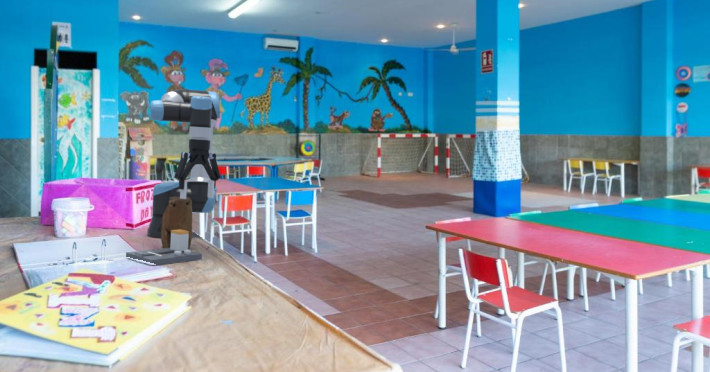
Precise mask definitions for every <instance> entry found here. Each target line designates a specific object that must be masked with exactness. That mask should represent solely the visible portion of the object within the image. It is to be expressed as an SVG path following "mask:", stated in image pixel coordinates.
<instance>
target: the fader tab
mask: <svg viewBox="0 0 710 372" xmlns="http://www.w3.org/2000/svg"><path fill="white" fill-rule="evenodd" d="M188 238H189V231H186V230H181V229H179V230H171V245H170V249H171V250H175V251H184V250H189V248H188Z"/></svg>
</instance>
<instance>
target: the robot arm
mask: <svg viewBox="0 0 710 372" xmlns="http://www.w3.org/2000/svg"><path fill="white" fill-rule="evenodd" d="M149 111H150V112H149V113H150V119H151V120H152V121H157V122H158V121H159V122H161V121H162V122H175V123H189V133H188V134H189V140H188V152H185V151H183V152H181V153H180V160H179V163H178V165H177V168H176V171H175V172H174V175H173V177H174V179H176V180H177V181H173V182H172V181H169V182H168V181H167V182H161V183H156V184H155V185H154V186H153V190H152V191H153V192H152V213H151V219H150V223H149V225H148V228H147V230H146V231H147V236H148V237H149V238H150V237H151V238H159V239H161V230H162V217H163V214H164V212H165V210H166V208H167V206H168V204H169V198H170V197H177V196H178V197H180V198H181V199H186V197H188V198H190V199H191V200H192V213H201V214H203V213H213V210H214V208H215V202H216V196H217V190H218V187H217V186H216V183H217V182H216V181H218V180H219V179H220V180H221V178H222V177H221V173H220V169H219V165H218V163H217V154H216V153H214V152H213V136H214V135H213V133H214V125H215V124H217V122H218V119H220V118H221V108H220V97H219V94H218V93H217V92H215V91H209V90H199V89H198V90H197V89H187V88H186V89H185V88H183V89H182V88H181V89H175V90H170V91H168V92H166V93H164V94H163V95H162V96H161V99H158V100H157V99H156V100H152V101H151V102H150V109H149ZM188 159H189V160H188ZM189 174H190V178H189V179H188V180H186V178H187V177H188V176H189Z"/></svg>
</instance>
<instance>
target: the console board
mask: <svg viewBox="0 0 710 372" xmlns="http://www.w3.org/2000/svg"><path fill="white" fill-rule="evenodd" d="M202 255H203V254H202V253H199V252H195V251H192V249H188V250H184V251H175V250H171V249H170V248H163V247H162V248H155V249H147V250H146V249H145V250H136V251H128V252H125V258H126V257H130V258H133V259H138V260H143V261H146V262H150V263H154V264H156V266H162V265H163V266H164V265H169V264H174V263H175V264H177V263H178V264H179V263H185V262H191V261H199V260H200V259H201V260H202V258H203V256H202Z"/></svg>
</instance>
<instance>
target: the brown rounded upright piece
mask: <svg viewBox="0 0 710 372" xmlns="http://www.w3.org/2000/svg"><path fill="white" fill-rule="evenodd" d="M179 229H181V230H186V231H189V238H188V249H189V248H190V247H191V245H192V240H193V212H192V200H191V199H190V198H188V197H186V199H181V198H180V197H178V196H177V197H170V198H169V204H168V206H167V208H166V210H165V212H164V214H163V217H162V230H161V238H160V239H161V245H162V248H170V245H171V230H179Z"/></svg>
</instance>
